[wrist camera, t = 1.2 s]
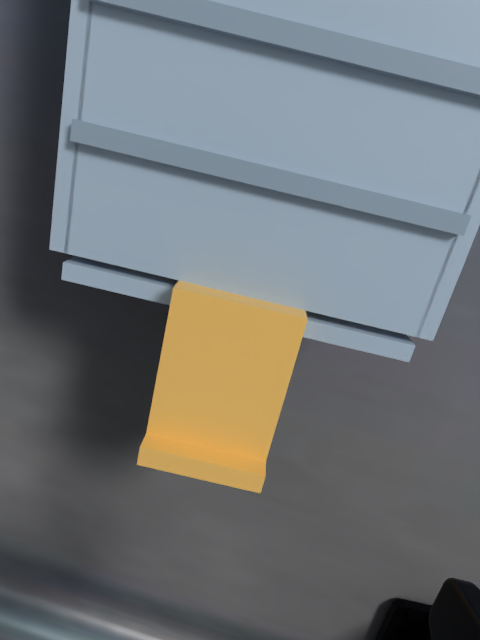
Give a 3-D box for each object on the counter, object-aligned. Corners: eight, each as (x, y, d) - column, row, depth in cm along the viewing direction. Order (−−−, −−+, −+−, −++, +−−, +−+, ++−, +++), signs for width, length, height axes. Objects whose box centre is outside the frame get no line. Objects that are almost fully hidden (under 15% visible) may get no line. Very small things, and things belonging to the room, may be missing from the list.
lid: (364, 458, 15) (384, 522, 13) (57, 386, 15) (10, 435, 12) (616, -200, 10) (753, -346, 7) (131, -327, 10) (75, -524, 7)
